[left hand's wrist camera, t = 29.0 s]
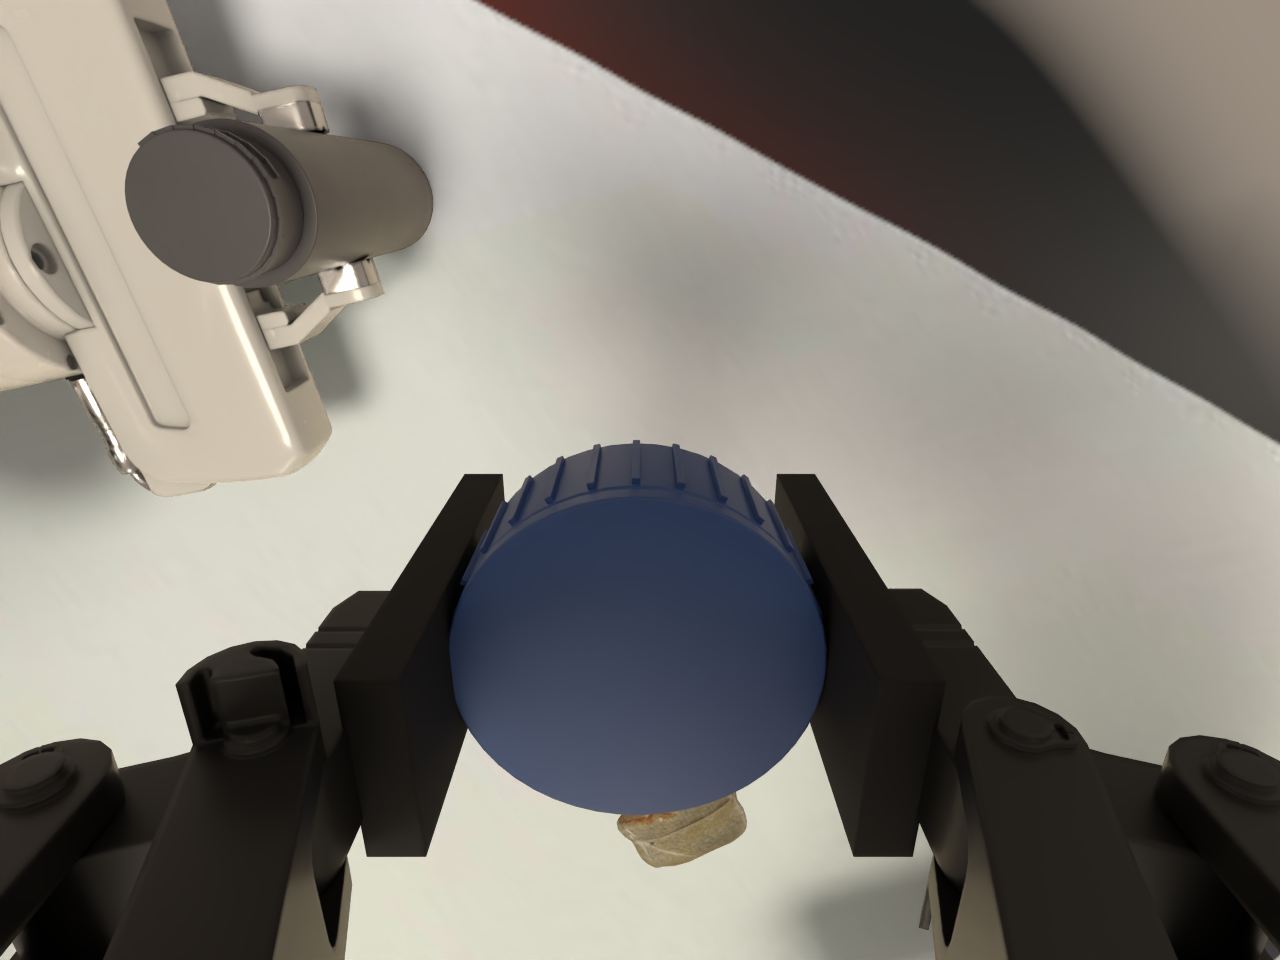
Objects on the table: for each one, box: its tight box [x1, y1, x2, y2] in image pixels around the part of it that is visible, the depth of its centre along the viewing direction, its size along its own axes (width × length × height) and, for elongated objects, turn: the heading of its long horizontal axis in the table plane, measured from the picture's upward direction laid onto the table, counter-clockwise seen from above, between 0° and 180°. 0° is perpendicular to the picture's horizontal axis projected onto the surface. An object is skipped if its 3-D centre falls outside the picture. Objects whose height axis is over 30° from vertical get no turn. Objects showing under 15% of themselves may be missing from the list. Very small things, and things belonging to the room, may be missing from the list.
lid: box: [448, 440, 827, 815], centre depth 11 cm, size 6×6×2 cm
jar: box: [125, 118, 433, 288], centre depth 26 cm, size 5×5×15 cm
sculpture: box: [617, 792, 747, 868], centre depth 36 cm, size 6×7×15 cm
